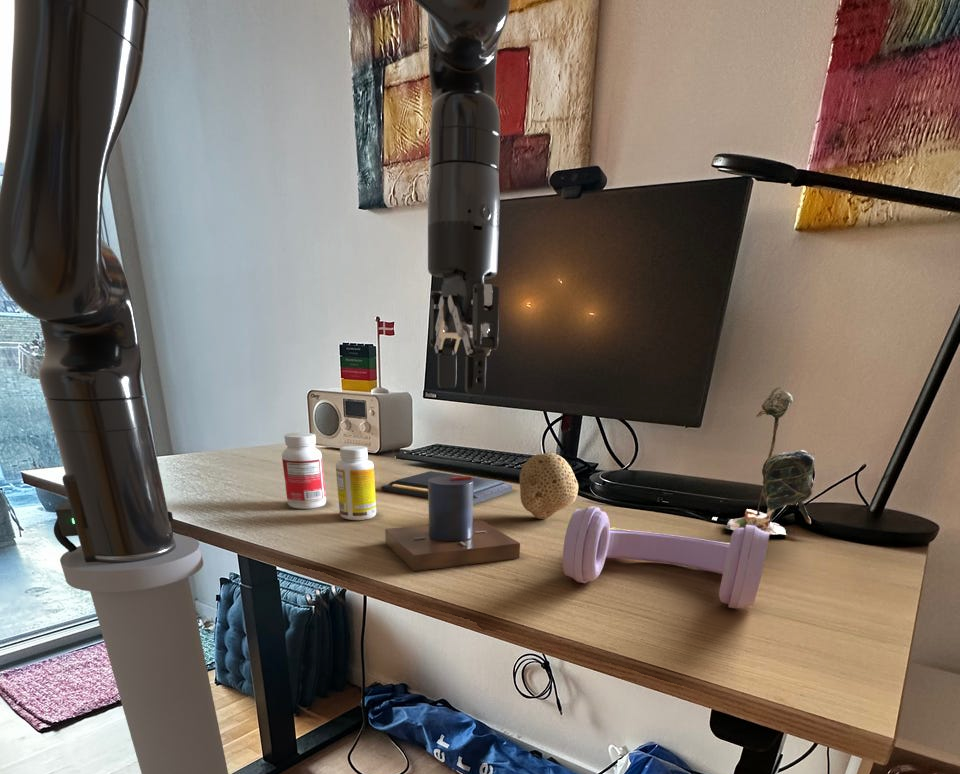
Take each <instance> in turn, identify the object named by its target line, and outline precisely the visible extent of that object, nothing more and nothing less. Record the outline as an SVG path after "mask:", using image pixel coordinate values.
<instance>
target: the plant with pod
mask: <svg viewBox="0 0 960 774" xmlns="http://www.w3.org/2000/svg"><path fill="white" fill-rule="evenodd" d="M793 401H794V397H793V395H792V394H790V392H788V391H786V390H785V389H783V388H782V387H780V386H777V387H774V388H773V389H772V390H771V392H770V393H769V394H768V396H767V397H766V398H765V400H764V401H763V402H762V404H761V410H760V411H759V412H758V413H757V414H756V418H758V419H759V418H761V417H762V415H766V416H772V417H773V418H774V421H773V422H774V423H773V431H772V434H773V435H772V439H771V445H770V449H769V453H768V457H767V459H766V460H765V461H764V463H763V466H762V469H761V475H762V477H763V478H762V488H761V492H760V496H759V501H758V506H757V510H754V509H748V508H747V509H746V510H745V511H744V516H743V517H742V516H741V517H739V518H728V521H727V523H726V524H727V525H725V527H724V528H725V529H727V530H732V531H735V530H736V529H738V528H746V525H752V526H756V527H757V528H758V529H760V530H762V531H764V532H767V533H769V536H776V535H779V536H787V533H786V531H787V530H786V529H785V527H783V526H782V525H781V524H779V523H777V522H772V519H773V516H774V514H775V512H776V510H778V509H781V508H784V507H786V506H788V505H790V506H795V505H796V504H797V505H798V508H799V510H800V512H801V515H802V516H803V517H804V520H805V521H806V523H807V524H808V525H811V524H812V519H811V518H810V516H809V513H808V511H807V508H806V506H805V504H804V502H805V501H807V500H809V499H810V498H811V496H812V495H813V487H814V480H813V474H814V471H815V458H814V455H815V453H810V452H808V451H806V450H803V449H799V450H797V449H796V450H791V451H785V452H780V453H778V454H773V452H774V448H775V444H776V436H777V431H778V427H779V422H780V419H781V418H782V417H784V416H785V415H786V413H787V412H788V410H789V408H790V406H791V405H792V404H793ZM763 499H764V501H765V503H766V508H767V510H766V513H764V512H761V511H759V510H760V507H761V505H762V501H763Z"/></svg>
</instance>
